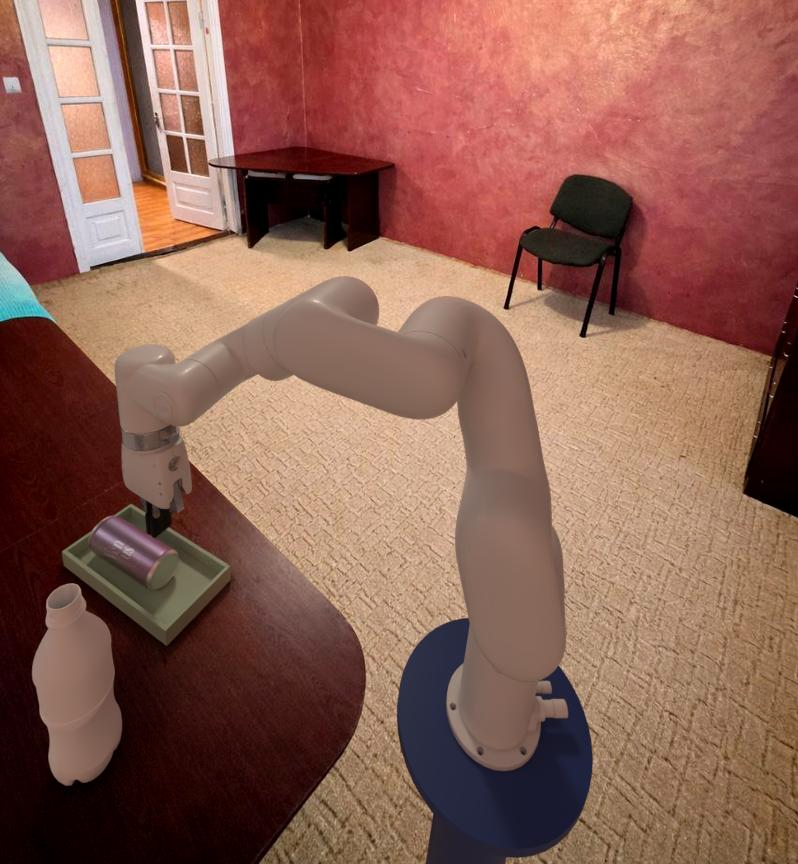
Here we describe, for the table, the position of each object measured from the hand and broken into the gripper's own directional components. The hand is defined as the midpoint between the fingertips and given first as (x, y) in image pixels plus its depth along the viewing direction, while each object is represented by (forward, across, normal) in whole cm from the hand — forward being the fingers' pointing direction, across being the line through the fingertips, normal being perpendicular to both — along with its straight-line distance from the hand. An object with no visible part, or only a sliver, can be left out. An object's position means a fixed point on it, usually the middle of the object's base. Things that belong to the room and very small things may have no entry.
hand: (159, 529), depth 75 cm
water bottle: (+11, -11, +19) cm, 25 cm away
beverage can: (+8, -1, 0) cm, 8 cm away
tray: (+11, +4, 0) cm, 12 cm away
